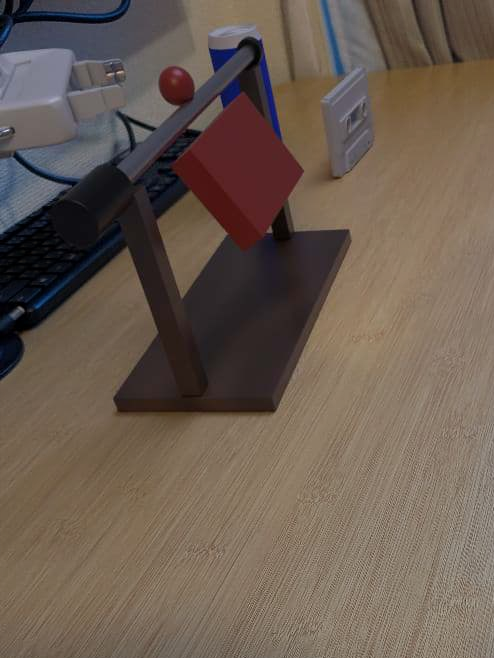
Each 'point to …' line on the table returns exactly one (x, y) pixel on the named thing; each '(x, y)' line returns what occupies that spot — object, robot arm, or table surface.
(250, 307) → the rod stand
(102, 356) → the table surface
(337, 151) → the cassette
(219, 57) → the beverage can
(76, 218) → the foosball rod
